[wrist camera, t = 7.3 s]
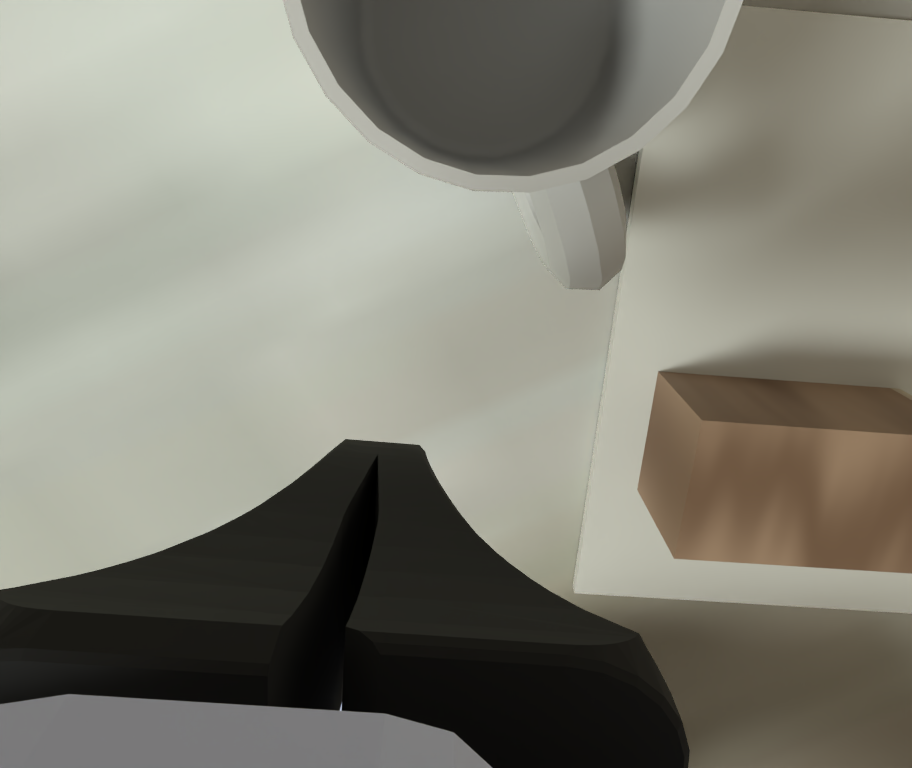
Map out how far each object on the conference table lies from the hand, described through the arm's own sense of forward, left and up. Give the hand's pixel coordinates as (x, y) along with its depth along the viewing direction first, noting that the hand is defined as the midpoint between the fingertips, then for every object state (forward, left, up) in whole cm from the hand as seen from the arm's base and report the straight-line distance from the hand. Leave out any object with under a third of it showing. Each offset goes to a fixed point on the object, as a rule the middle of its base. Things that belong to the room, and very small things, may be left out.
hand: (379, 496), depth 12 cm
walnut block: (-3, -15, -8) cm, 17 cm away
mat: (0, -14, -10) cm, 18 cm away
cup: (+7, -2, -11) cm, 13 cm away
